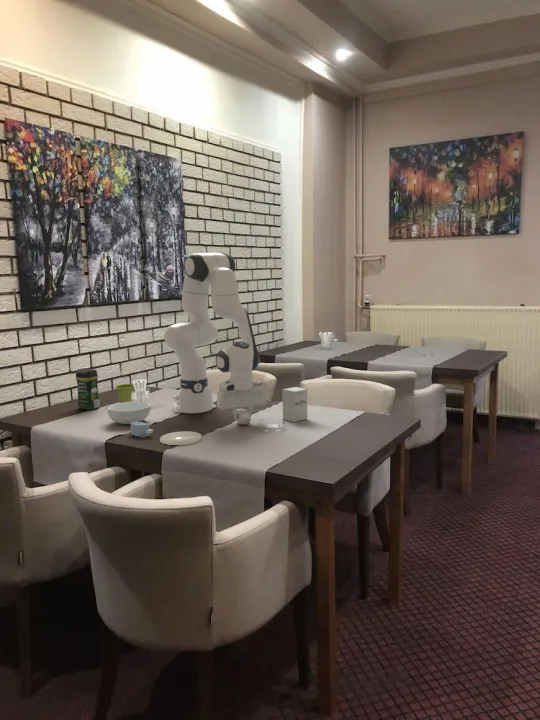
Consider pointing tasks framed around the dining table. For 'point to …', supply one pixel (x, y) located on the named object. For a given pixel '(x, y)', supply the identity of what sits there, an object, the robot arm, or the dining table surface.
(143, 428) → the blue connector
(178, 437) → the saucer
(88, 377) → the coffee jar
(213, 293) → the robot arm
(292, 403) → the supplement box
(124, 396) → the plant pot
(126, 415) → the cereal bowl
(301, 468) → the dining table surface
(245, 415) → the grey connector
